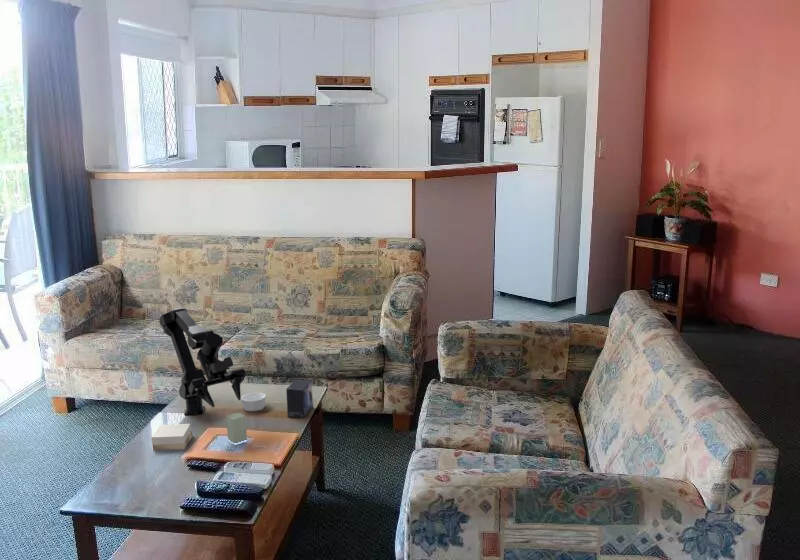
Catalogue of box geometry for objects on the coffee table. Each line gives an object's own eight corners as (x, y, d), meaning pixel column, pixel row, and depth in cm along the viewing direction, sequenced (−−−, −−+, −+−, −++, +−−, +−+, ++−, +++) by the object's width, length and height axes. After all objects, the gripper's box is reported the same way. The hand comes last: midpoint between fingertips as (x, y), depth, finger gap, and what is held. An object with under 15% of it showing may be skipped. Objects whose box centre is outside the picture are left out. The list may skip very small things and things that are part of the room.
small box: (304, 418, 261) (302, 389, 258) (286, 417, 262) (285, 389, 260) (314, 407, 271) (312, 379, 269) (297, 406, 272) (295, 378, 270)
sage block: (228, 441, 243) (226, 415, 241) (241, 437, 246) (238, 412, 244) (234, 445, 240) (232, 419, 238) (247, 442, 242) (245, 415, 240)
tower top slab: (160, 432, 248) (159, 424, 247) (191, 430, 248) (190, 423, 248) (152, 444, 238) (151, 437, 238) (183, 443, 238) (183, 436, 238)
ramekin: (271, 405, 274) (270, 394, 273) (254, 414, 266) (253, 402, 265) (253, 401, 278) (252, 390, 277) (236, 409, 271) (235, 398, 270)
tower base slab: (162, 439, 248) (161, 432, 248) (192, 438, 248) (192, 431, 248) (153, 452, 239) (152, 444, 238) (184, 451, 239) (183, 443, 238)
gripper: (188, 356, 240) (205, 398, 234) (241, 344, 251) (259, 384, 245) (181, 374, 248) (197, 414, 242) (233, 362, 259) (250, 400, 253)
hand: (226, 403), depth 245 cm, fingers open, 9 cm apart
